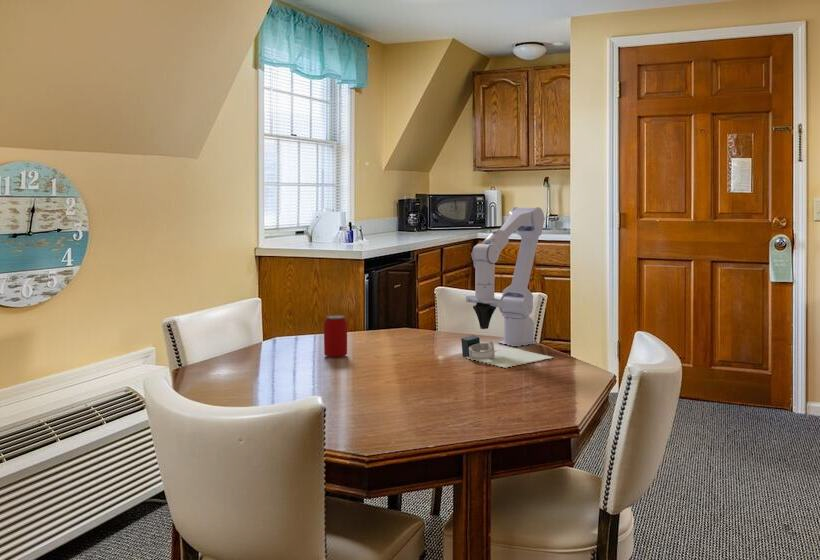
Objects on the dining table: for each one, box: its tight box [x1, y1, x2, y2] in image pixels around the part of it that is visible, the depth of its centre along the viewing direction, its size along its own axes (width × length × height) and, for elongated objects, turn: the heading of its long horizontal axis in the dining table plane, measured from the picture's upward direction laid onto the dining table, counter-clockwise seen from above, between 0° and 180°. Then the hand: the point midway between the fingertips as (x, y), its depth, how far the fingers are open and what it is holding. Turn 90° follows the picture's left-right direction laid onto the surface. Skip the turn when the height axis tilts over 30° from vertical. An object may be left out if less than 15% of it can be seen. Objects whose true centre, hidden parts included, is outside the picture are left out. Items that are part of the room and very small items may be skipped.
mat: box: [465, 348, 554, 369], centre depth 214 cm, size 20×16×1 cm
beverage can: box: [323, 314, 348, 359], centre depth 217 cm, size 7×7×12 cm
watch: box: [460, 334, 496, 359], centre depth 214 cm, size 6×8×11 cm
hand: (484, 328), depth 222 cm, fingers closed
